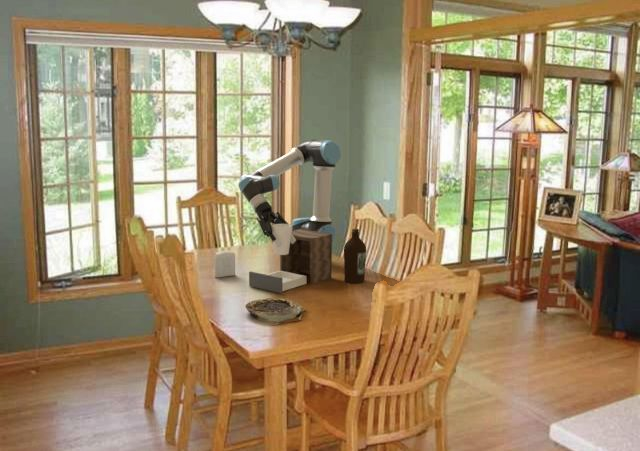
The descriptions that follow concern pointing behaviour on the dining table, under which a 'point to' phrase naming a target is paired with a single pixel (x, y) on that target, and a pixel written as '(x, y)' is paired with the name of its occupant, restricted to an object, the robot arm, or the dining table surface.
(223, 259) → the photo printer
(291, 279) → the tray
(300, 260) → the cabinet
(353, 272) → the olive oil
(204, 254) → the dining table surface
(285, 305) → the pie
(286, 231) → the foam cup
